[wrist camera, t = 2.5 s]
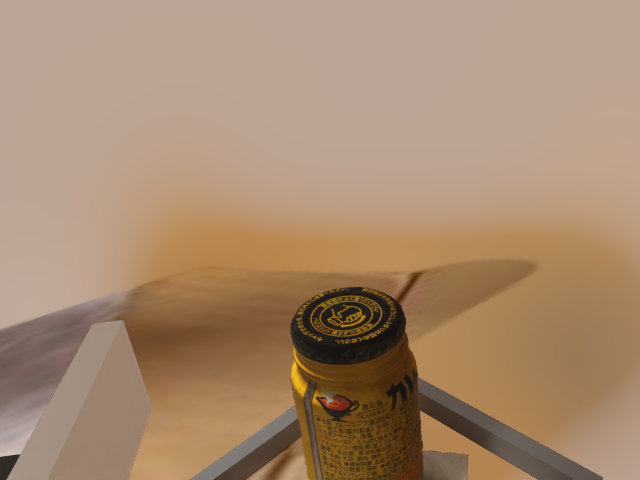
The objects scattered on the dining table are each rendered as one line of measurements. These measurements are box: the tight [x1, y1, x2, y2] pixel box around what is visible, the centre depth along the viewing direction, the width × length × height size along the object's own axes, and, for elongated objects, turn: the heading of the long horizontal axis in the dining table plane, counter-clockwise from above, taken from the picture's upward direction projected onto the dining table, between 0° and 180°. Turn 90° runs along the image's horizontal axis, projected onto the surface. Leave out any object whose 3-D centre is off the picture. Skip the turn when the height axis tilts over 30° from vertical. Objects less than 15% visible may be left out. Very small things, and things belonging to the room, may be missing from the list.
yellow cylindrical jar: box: [291, 287, 468, 480], centre depth 29 cm, size 7×8×12 cm
